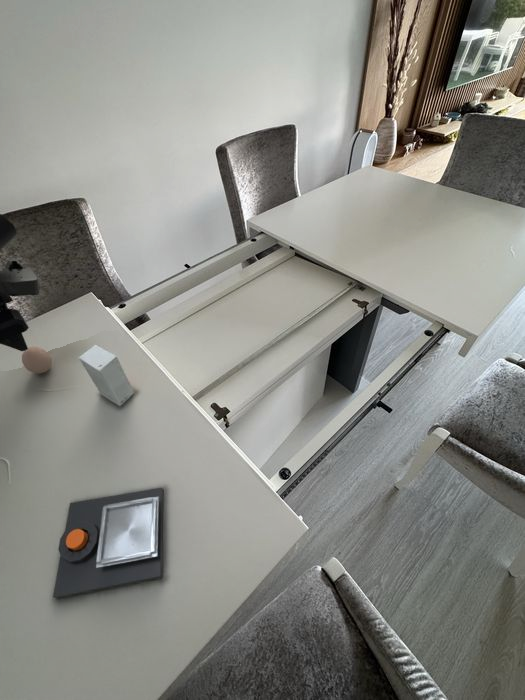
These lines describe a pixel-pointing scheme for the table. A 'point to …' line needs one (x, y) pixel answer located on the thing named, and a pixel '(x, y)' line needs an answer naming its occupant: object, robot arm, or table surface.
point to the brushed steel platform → (128, 532)
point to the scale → (81, 564)
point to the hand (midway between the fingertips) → (18, 336)
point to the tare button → (76, 539)
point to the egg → (36, 360)
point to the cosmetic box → (107, 374)
